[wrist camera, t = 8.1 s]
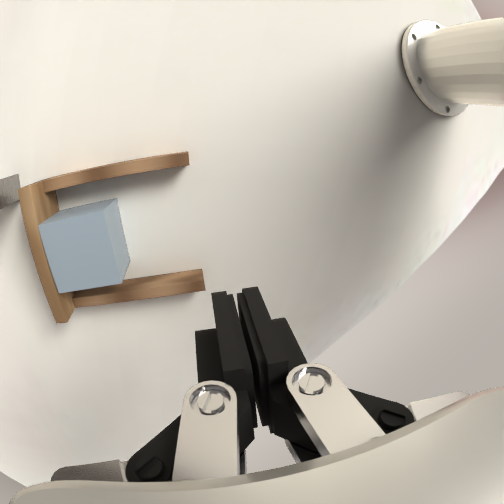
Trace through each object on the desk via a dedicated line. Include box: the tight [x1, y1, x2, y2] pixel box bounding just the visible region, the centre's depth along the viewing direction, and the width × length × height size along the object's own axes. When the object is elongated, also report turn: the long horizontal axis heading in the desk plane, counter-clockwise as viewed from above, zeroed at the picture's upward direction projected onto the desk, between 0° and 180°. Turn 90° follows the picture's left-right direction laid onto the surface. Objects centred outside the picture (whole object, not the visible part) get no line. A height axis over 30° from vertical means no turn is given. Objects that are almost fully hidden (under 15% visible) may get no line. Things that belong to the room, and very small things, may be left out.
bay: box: [18, 152, 205, 323], centre depth 23 cm, size 14×12×5 cm
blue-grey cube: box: [38, 198, 130, 293], centre depth 23 cm, size 6×6×5 cm
